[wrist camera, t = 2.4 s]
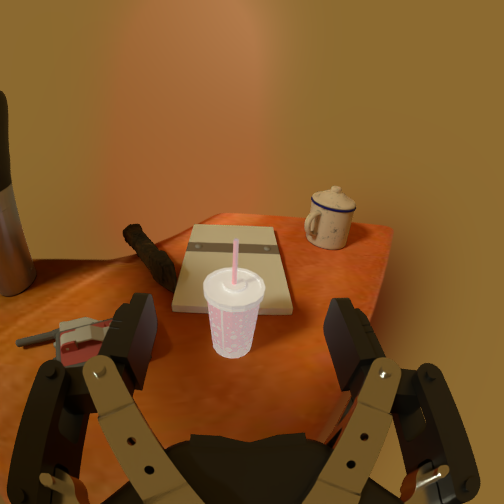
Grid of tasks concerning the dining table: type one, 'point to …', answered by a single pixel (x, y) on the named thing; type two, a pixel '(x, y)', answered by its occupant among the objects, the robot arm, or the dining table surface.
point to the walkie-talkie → (74, 340)
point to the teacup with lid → (329, 219)
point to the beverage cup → (233, 306)
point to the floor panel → (221, 256)
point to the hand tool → (151, 256)
